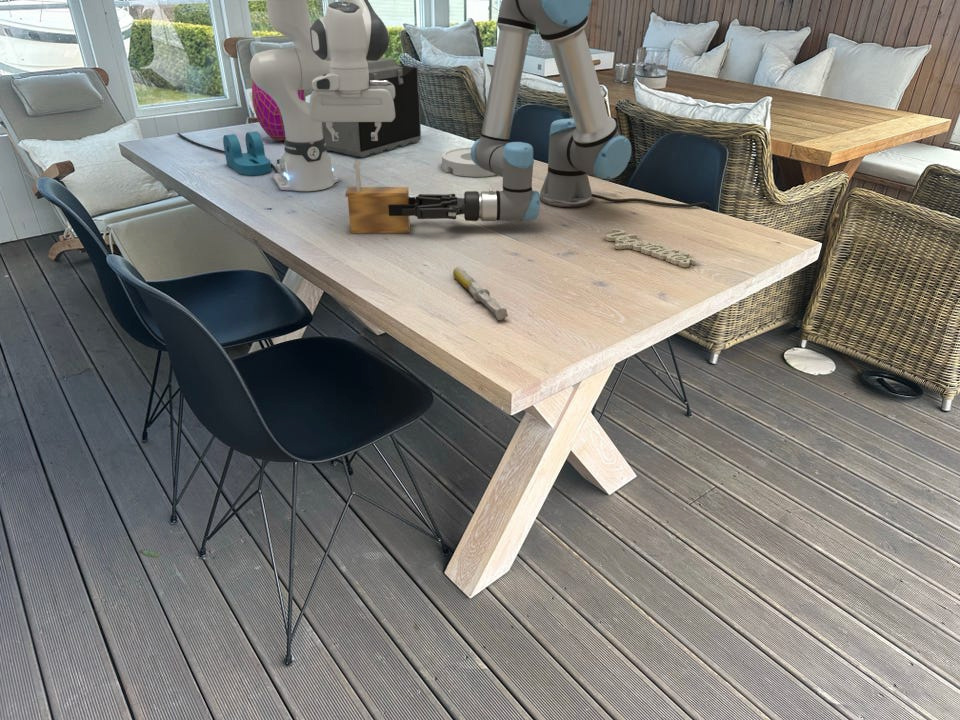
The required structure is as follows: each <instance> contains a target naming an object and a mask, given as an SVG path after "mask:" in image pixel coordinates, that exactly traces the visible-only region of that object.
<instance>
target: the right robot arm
mask: <svg viewBox="0 0 960 720" xmlns="http://www.w3.org/2000/svg"><path fill="white" fill-rule="evenodd" d="M591 4H592V0H501V2H500V6H499V9H498V14H497V15H498V16H497V21H496V26H497V28H498V30H499V32H498V37H497V42H496V49H495V54H494V60H493V66H492V72H491V76H490V82H489V89H488V94H487V99H486V105H485V109H484V110H485V111H484V115H483V116H484V118H483V122H482V127H481V133H480V138H478V139H476V140H475V141H474V143H473V144H472V146H471V147H472V148H471V158H472V161H473V162H474V163H475V164H476V165H478V166H479V167H481V168H482V169H484V170H487V171H490V172H492V173H495V174H497V175H496V176H499V177H501V178H502V190H496V191H495V190H494V191H493V189H492V188H491V189H489V190H488V191H485V190H484V191H481V192H479V191H477V190H466V191H464V194H463V196H464V197H463V198H462V197H457V196H456V194H455V193H447V194H445V193H444V194H441V193H439V194H435V193H434V194H431V193H429V194H428V193H426V194H425V193H424V194H423V193H419V194H418V195H417V196H409V205H389V216H410V217H416V219H417V220H438V219H439V220H440V219H441V220H444V219H445V220H457V216H461V215H464V216H463V217H464V221H466V222H478V221H479V220H480V221H481V222H496V221H511V222H513V221H514V222H517V221H518V222H524V221H526V222H527V221H535V220H537V219H538V217H539V215H540V207H541V204H540V202H542V203H543V204H546V205H549V206H553V207H558V208H559V207H560V208H580V207H584V206H588V205H589V204H591V203H592V199H593V198H596V199H598V200H599V199H600V200H603V201H606V202H611V203H628V202H639V203H645V204H652V205H657V206H665V207H675V208H694V207H699V206H705V207H707V209H712V208H713V207H712V206H711V204H710V203H708V202H706V201H698V202H695V203H676V202H665V201H656V200H650V199H646V198H635V197H633V198H632V197H630V198H610V197H607V196H603V195H599V194H595V193H592V188H591V184H590V179H589V175H591V176H593V177H595V178H598V179H604V180H612V179H615V178H617V177H618V176H620V175H621V174H622V173H623V172H624V171H625V169H626V168H627V166H628V164H629V162H630V160H631V157H632V144H631V142H630V140H629V139H628V138H627V137H626V136H624V135H621V134H620V132H619V129H618V125H617V122H616V119H614V118H613V117H611V116H609V115H608V111H607V107H606V103H605V101H604V100H605V99H604V96H603V94H602V90H601V85H600V82H599V79H598V75H597V71H596V67H595V64H594V61H593V55H592V53H591V50H590V46H589V42H588V38H587V35H586V32H585V31H586V30H585V28H586V27H587V24H588V22H589V17H588V15H589V13H590V11H591V7H590V5H591ZM536 26H537V29H538V32H539V35H540V39H541V40H542V41H544V42H546V43H549V46H550V50H551V52H552V55H553V58H554V62H555V64H556V68H557V71H558V74H559V78H560V80H561V84H562V87H563V90H564V93H565V97H566V100H567V104H568V107H569V109H570V113H571V116H572V118H562V119H556V120H554V121H553V122H551V124H550V129H549V134H548V136H549V138H548V139H549V141H548V156H547V158H548V159H547V173H546V176H545V178H544V181H543V184H542V187H541V189H540V191H537V190H533V172H534V163H535V160H534V147H533V146H532V144H530V143H528V142H523V141H511V142H510V137H511V132H512V131H511V130H512V127H513V120H514V116H515V111H516V106H517V102H518V96H519V91H520V87H521V81H522V76H523V71H524V67H525V60H526V56H527V51H528V46H529V41H530V37H531V36H532V35H533V34H534V33H535V32H536Z"/></svg>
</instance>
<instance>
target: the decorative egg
mask: <svg viewBox="0 0 960 720" xmlns="http://www.w3.org/2000/svg"><path fill="white" fill-rule="evenodd" d="M298 96H299V98H300V99H301V100H303V101H305V102H307V101H306V99H307V97H306V93H305V90H299V91H298ZM251 101H252V107H253V110H254V114H255V116H256V118H257V121H258V123H259V125H260V127H261V128H262V130H263V131H264V133H266V135H267V136H268V137H270V138H271V139H273V140H275V141H282V142H285V139H286V136H285V130H284V124H283V119H282V115H281V112H280V110H279V107H278V106H277V104H276V103H275V101H274V100H273V99H272V98H271V97H270V96H269V95H268V94H267V93H266V92H264V91H263V90H261V89H260V88H259V87H258V86H257V85H256V84H255V83H254V81H253V79H252V78H251Z"/></svg>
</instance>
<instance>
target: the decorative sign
mask: <svg viewBox="0 0 960 720" xmlns="http://www.w3.org/2000/svg"><path fill="white" fill-rule="evenodd" d="M611 230H612V231H611V233H608V234H606V236H605V240H606V241H608V242H614V243H615V244H614V249H615V250H623V249H624V250H625V249H628V250H631V249H632V250H633V251H637V252H640V253H642V254H645V255H649V256H651V257H653V258H658V259H659V260H665V262H666V263H671V264H673V265H678V266H679V267H681V268H689V267H690V264H691V265H693V266H695V265H696V258H692V257H690V253H689V252H687V251H685V252H683V251H682V252H680V249H679V248H672V249H665V248H664V246H663V245H661V244H660V243H654V242H652V241H649V242H643V241H641V240H638V234H637V233H628V234H626V231H625V230H623V229H619V228H612V229H611Z"/></svg>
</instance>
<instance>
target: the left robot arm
mask: <svg viewBox="0 0 960 720" xmlns="http://www.w3.org/2000/svg"><path fill="white" fill-rule="evenodd" d="M265 2H266V4H265V5H266V12H267V16H268V23H269V25H270V26H271V27H272V28H273V30H275V31H276V32H277V33H280V34H281V35H283V36H286V37H288V38H289V39H290V40H291V41H292V43H293V45H294V47H293V48H277V49H268V50H267V49H266V50H263V51H260V52H256V53H254V55H253V56H252V58H251V60H250V63H249V73H250V77H251V80H252V79H253V81H254V83H255V84H256V85H257V86H258V87H259V88H260V89H261V90H263V91H264V92H266V93H267V94H268V95H269V96H270V97H271V98H272V99H273V100H274V101H275V103H276V104H277V106H278V107H279V110H280V112H281V115H282V119H283V124H284V130H285V136H286V139H285V141H284V144H283V146H284V153H283V154H282V156H281V157H280V158H278V159H276V164H275V165H274V164H273V163H271V168H272V169H273V171H274V173H276V174H273V180H274V181H275V183H276V185H277V187H278V188H279V190H281V191H294V192H295V191H296V192H316V191H322V190H327V189H329V188H331V187H333V186H334V185H335V183H337V182H339V181H340V180H339V177H338V176H335V173H334V168H333V167H334V166H333V163H332V161H333V160H332V157H331V154H329V153H328V152H327V150H326V142H325V138H324V137H323V130H322V122H326V127H327V129H328V130H329V131H330V133H331V134H332V141H339V132H335V131H334V129H333V128H332V125H333V122H375V126H376V127H377V128H376V130H375V132H371V137H372V138H371V141H378V134H377V133H378V131H379V129H380V127H381V122H392V121H393V120H394V119H395V107H394V101H393V100H394V98H395V87H394V85H393V84H392V83H390V82H388V81H387V80H383V81H378V80H369V70H368V63H367V60H369V61H377V60H379V59H380V58H383V56H384V55H385V54H386V52H387V50H388V48H389V43H390V38H389V33H388V32H389V31H388V29H387V26H386V24H385V23H384V22H383V20H382V19H381V18H380V17H379V15H378V14H377V12H376V11H375V10H374V8H373V6H372V5H371V3H370V1H369V0H342V1H334V2H331V3H329V4H328V5H327V6H326V10H325V11H326V12H325V14H324V15H323V16H322V17H320V18H316V19H315V21H314V22H313V23H312V20H311V15H310V10H309V5H308V0H265ZM388 84H390V85H388ZM299 90H304V91H306V90H313V91H312V92H311V93H310V96H309V102H307V101H306V102H305V101H303V100H301V99H300V98H299V96H298V91H299ZM176 133H177V135H178V136H179V137H180V138H181V139H183V140H185V141H187V142H190V143H191V144H194V145H196V146H200V147H203V148H204V149H205V148H206V149H209V150H212V151H216V152H220V153H224V154H225V150H224V149H219V148H216V147H211V146H210V145H209V146H208V145H206V144H202V143H199V142H196V141H194V140H192V139H189V138H188V137H186V136H185V135H182V134H181V133H180V132H176Z"/></svg>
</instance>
